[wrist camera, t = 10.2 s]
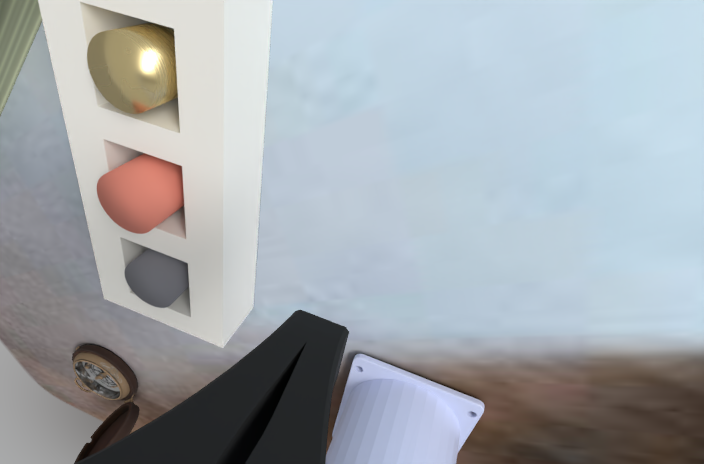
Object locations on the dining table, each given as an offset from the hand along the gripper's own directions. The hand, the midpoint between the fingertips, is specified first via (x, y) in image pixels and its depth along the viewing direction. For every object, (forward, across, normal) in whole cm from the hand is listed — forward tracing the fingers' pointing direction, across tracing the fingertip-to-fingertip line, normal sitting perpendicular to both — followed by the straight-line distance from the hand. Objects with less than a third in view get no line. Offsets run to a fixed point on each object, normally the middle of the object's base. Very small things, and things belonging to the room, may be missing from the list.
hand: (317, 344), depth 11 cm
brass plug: (+10, +11, -3) cm, 15 cm away
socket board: (+10, +11, +3) cm, 15 cm away
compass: (+11, +20, +28) cm, 36 cm away
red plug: (+10, +11, +3) cm, 15 cm away
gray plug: (+10, +11, +8) cm, 17 cm away
